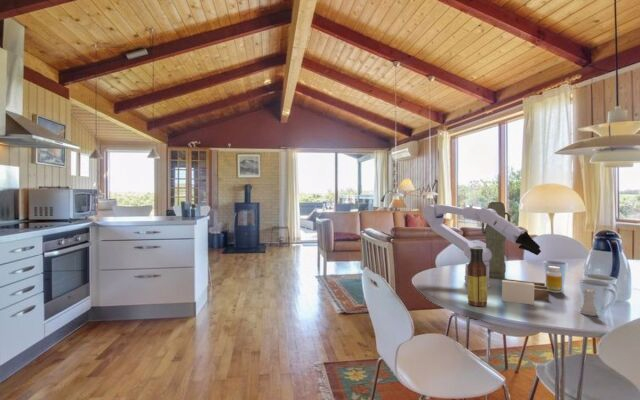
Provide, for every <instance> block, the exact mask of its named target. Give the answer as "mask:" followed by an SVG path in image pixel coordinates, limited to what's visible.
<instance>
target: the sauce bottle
mask: <svg viewBox="0 0 640 400" xmlns="http://www.w3.org/2000/svg"><path fill="white" fill-rule="evenodd" d="M470 252H471V261H470V260H469V262H468V263H469V264H468V274H467V282H468V285H467V302H468V304H469V305H471V306H472V307H473V306H474V307H478V308H480V307H486V306H487V305H488V287H487V275H486V266H485V264H484V262H483V259H482V253H483V248H479V247H471V248H470Z"/></svg>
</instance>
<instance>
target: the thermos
mask: <svg viewBox="0 0 640 400" xmlns="http://www.w3.org/2000/svg"><path fill="white" fill-rule="evenodd" d="M505 207H506V206H505V203H503V202H501V201H490V202H489V203H488V205H487V208H486V209H490V208H491V209H493V210H495V211H496V212H497V214H498V215H500V216H501V217H503V218H504V219H506V215H507V221H509V222H510V223H511V215H510V214H509V212H506V208H505ZM481 233H482V234H484V239H485V247H486V248H488V249H489V250H490V251H491V253H492V258H491V259H490V260H489V279H496V280H502V279H506V269H507V268H506V267H507V266H506V261H505V254H506V253H505V252H506V251H505V250H506V249H505V248H506V240H507V238H506V237H505V236H504V235H502V234H501V233H499V232H498V231H497V230H495V229H494V228H492V227H491V226H490V225H488V223H486V225H485V223H482V222H481Z"/></svg>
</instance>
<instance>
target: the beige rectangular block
mask: <svg viewBox="0 0 640 400" xmlns="http://www.w3.org/2000/svg"><path fill="white" fill-rule="evenodd" d="M501 301H502V302H508V303H515V304H516V303H518V304H524V305H525V304H526V305H532V306H533V305H535V298H534V283H527V282H517V281H508V280H502V279H501Z"/></svg>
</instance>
